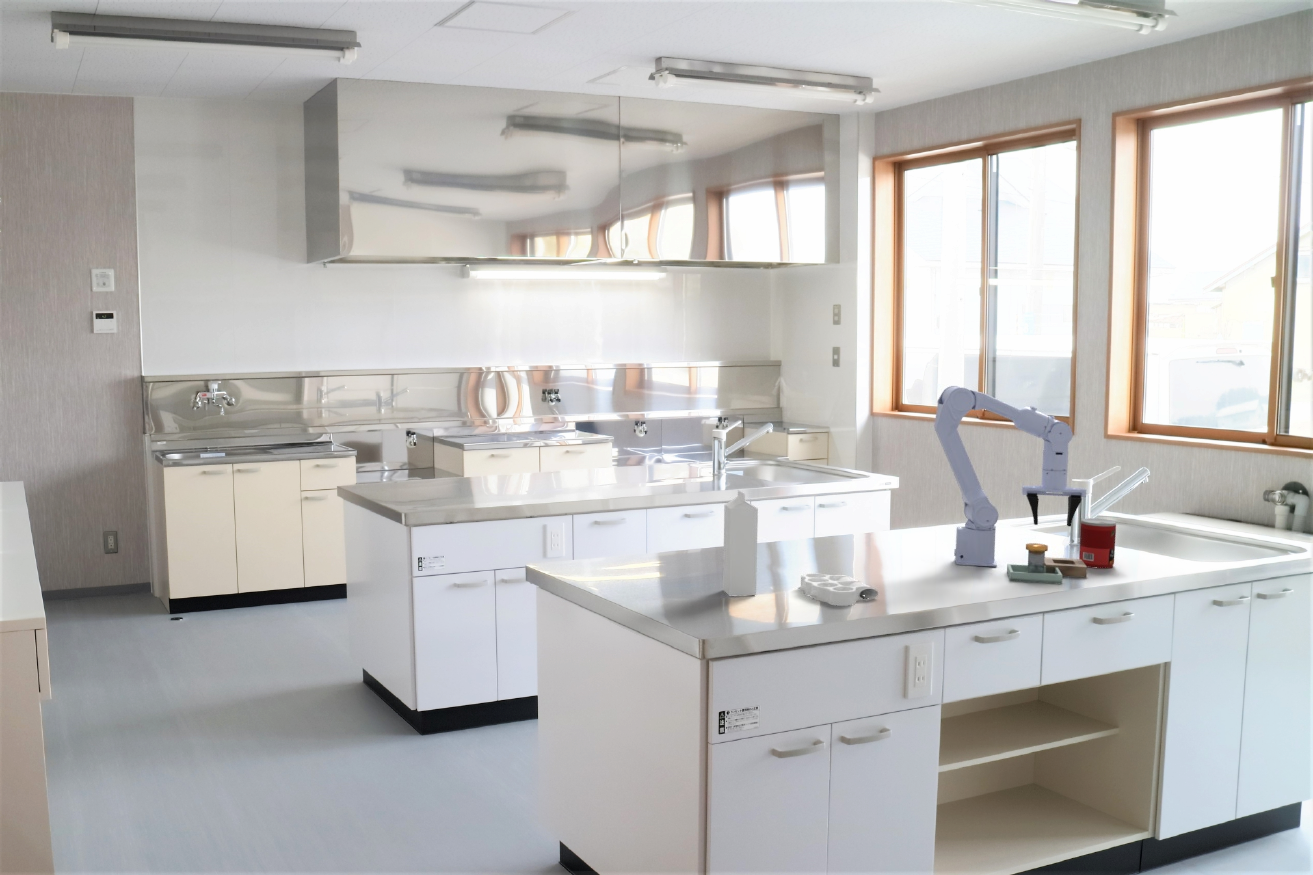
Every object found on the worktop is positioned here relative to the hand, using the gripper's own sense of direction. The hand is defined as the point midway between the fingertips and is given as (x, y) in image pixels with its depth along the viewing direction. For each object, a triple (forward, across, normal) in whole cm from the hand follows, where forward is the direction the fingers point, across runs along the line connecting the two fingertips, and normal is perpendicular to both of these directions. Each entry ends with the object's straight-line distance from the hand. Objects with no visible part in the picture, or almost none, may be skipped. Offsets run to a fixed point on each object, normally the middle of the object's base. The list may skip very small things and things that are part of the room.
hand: (1052, 524), depth 264 cm
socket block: (+10, +2, -8) cm, 13 cm away
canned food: (+10, +11, +3) cm, 15 cm away
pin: (+9, -5, -16) cm, 19 cm away
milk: (+10, -69, -50) cm, 86 cm away
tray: (+10, -6, -16) cm, 20 cm away
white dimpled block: (+11, -49, -46) cm, 68 cm away
